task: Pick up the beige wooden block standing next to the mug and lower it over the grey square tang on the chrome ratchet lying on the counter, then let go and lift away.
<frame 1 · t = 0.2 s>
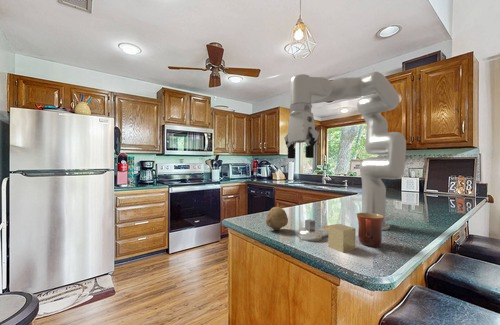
hand: (299, 158, 80), 30 cm above the table, fingers open, 9 cm apart
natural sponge: (277, 230, 94), on the table
mug: (369, 245, 78), on the table
beige wooden block: (341, 247, 75), on the table
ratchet: (317, 235, 87), on the table
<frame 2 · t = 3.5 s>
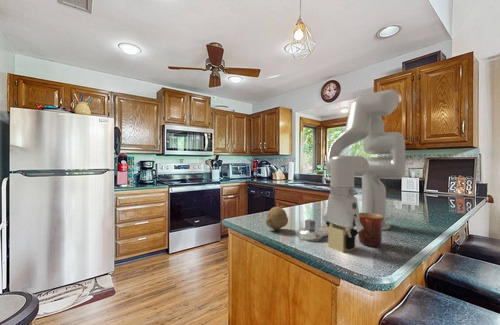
hand: (341, 244, 75), 1 cm above the table, fingers closed on beige wooden block, 6 cm apart
beige wooden block: (341, 247, 75), on the table, touching gripper
everything else where it was.
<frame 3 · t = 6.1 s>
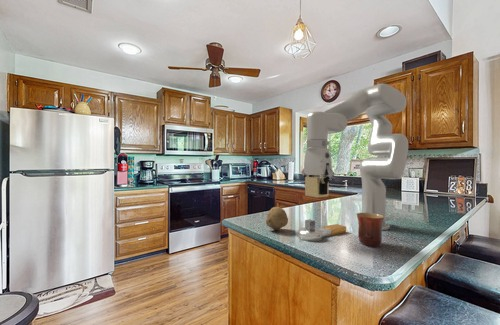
hand: (316, 192, 83), 18 cm above the table, fingers closed on beige wooden block, 6 cm apart
beige wooden block: (316, 195, 83), point 16 cm above the table, touching gripper
everything else where it was.
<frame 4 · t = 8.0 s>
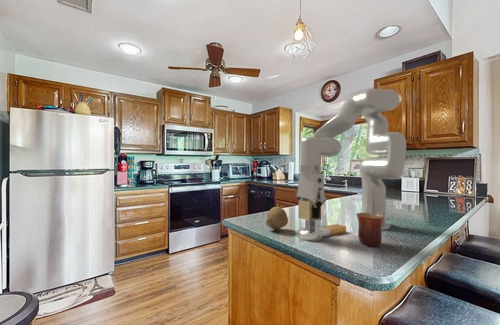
hand: (309, 215, 85), 8 cm above the table, fingers closed on beige wooden block, 6 cm apart
beige wooden block: (309, 218, 85), point 7 cm above the table, touching gripper
everything else where it was.
when the fingers open (4 cm above the table, at t = 9.2 s): beige wooden block stays where it is, resting on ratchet.
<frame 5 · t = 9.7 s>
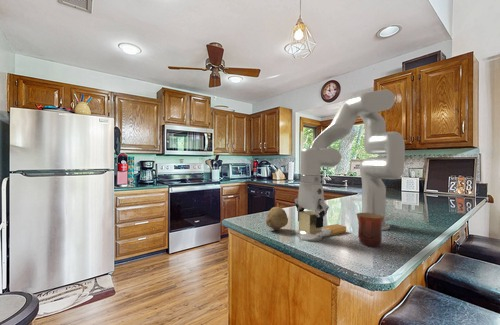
hand: (310, 224, 86), 5 cm above the table, fingers open, 9 cm apart
beige wooden block: (310, 230, 86), point 2 cm above the table, touching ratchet
everything else where it was.
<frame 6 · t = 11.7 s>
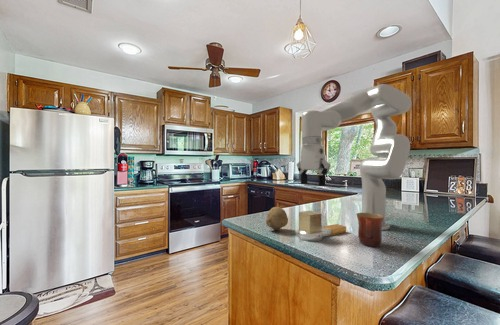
hand: (312, 184, 89), 20 cm above the table, fingers open, 9 cm apart
nothing on the table moved.
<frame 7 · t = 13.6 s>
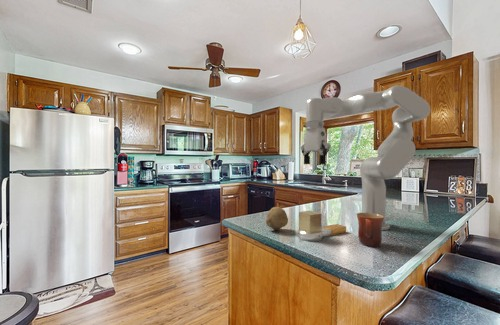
hand: (314, 164, 100), 28 cm above the table, fingers open, 9 cm apart
nothing on the table moved.
at the end: beige wooden block 0.0 cm from the target spot on the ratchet, point 2.5 cm above the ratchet's base; beige wooden block tilted 0°; the gripper is holding nothing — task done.
